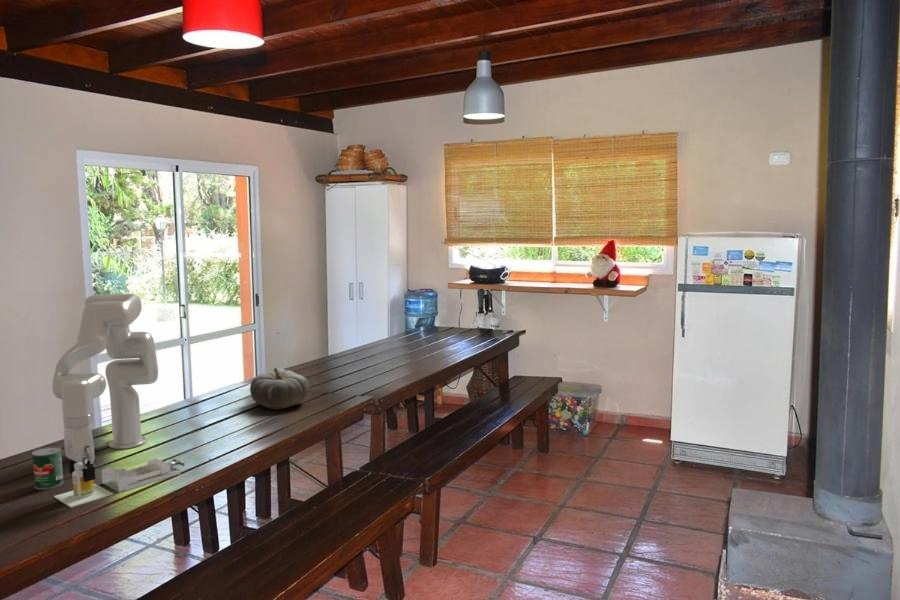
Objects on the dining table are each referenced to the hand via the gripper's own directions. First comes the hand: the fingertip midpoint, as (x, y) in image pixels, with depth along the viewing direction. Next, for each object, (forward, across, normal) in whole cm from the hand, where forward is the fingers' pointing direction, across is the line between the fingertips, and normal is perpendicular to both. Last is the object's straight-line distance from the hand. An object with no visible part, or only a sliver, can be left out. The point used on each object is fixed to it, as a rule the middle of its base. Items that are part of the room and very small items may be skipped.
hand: (82, 476), depth 206 cm
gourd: (+6, -37, +99) cm, 106 cm away
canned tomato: (+6, -18, -3) cm, 19 cm away
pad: (+6, 0, 0) cm, 6 cm away
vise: (+6, 0, +19) cm, 20 cm away
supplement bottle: (+6, 0, 0) cm, 6 cm away
